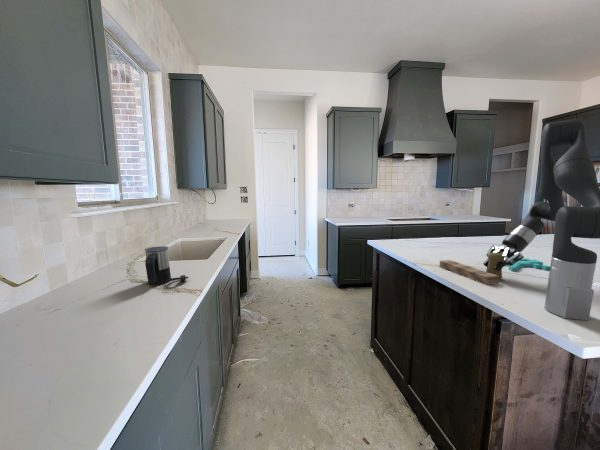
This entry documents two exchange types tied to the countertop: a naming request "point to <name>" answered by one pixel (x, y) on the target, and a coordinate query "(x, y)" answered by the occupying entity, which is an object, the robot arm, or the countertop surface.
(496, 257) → the cork
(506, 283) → the countertop surface
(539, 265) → the turquoise toy gun
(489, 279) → the walnut plank
